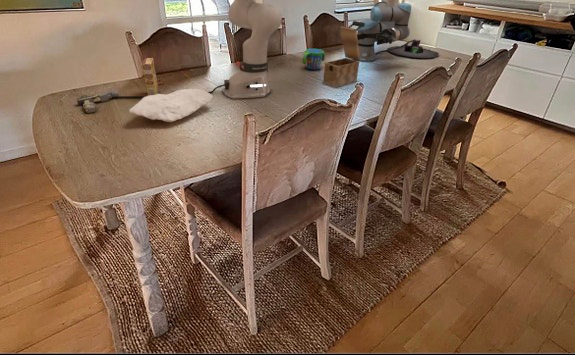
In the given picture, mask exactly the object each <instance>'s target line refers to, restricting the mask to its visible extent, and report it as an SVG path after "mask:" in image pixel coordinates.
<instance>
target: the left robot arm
mask: <svg viewBox="0 0 575 355" xmlns="http://www.w3.org/2000/svg"><path fill="white" fill-rule="evenodd" d="M227 12H228V13H227V15H228V20H229V22H230V23H231V24H232V25H234V26H236V27H239V28H241V29H246V30H251V35H250V37H249V38H247V39H246V40H245V41H244V42H243V43H242V59H243V60H242V61H236V62H235V65H236V66H237V67H239V69H237V71H236V72H235V73H234V74H232V75H231V76H230V77H229V78H228V79H223V84H220V85H218V86H216V87H214V88H213V89H212V90H211V91H207V92H208V93H210V94H212V93H214V92H215V91H216V90H217V89H219V88H222V87H224V88H223V91H222V92H223V94H224V95H225V96H226V97H228V98H230V99H233V100H236V99H237V100H238V99H239V100H240V99H253V98H254V99H255V98H264V97H266V95H268V94H269V93H270V92H271V88H270V84H269V78H268V76H269V75H268V72H269V61H268V47H269V41H270V39H271V37H272V35H273V34H274V33H275V32H277V31H278V30H279V28H280V27H281V25H282V20H283V18H282V17H283V16H282V12H281V10H280V9H279V8H278V7H276V6H274V5H271V4H269V3H262V2H257V1H256V0H233V2H232V3H231V4H230V5H229V8H228V11H227ZM146 96H147V95H141V96H140V95H139V96H138V95H130V96H129V95H128V96H127V95H126V96H125V95H123V96H121V95H119V96H117V97H112V98H111V99H142V98H144V97H146Z"/></svg>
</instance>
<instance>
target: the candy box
mask: <svg viewBox="0 0 575 355" xmlns="http://www.w3.org/2000/svg"><path fill="white" fill-rule="evenodd" d="M141 66H142V73H143V78H144V82H145V87H146V92H147V96H150V95H156V94H159V91H160V90H159V84H158V79H157V73H156V66H155V62H154V58H153V57H151V58H150V57H149V58H146V57H145V58H143V60H142V63H141Z"/></svg>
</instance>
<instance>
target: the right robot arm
mask: <svg viewBox="0 0 575 355" xmlns="http://www.w3.org/2000/svg"><path fill="white" fill-rule="evenodd" d="M372 1H373V7H372V8H371V9H370V14H369V15H370V16H369V17H370V18H366V19H362V20H360V21H359V22H363V23H365V26H364V27H361V28H360V29H358V30H357V39H358V47H359V54H360V60H359V62H373V61H375V60H376V55H378V54H380V53H385V52H386V53H387V52H389V51H388V50H387V49H383V50H379V51H377V52H375V51H376V50H375V44H376V45H377V46H380V45H384V44H386V45H387V44H389V45H392V44H393V43H394V42H398V41H403V40H405V39H407V38H408V37H409V36H410V34H411V30H410V27H409V21H410V17H411V12H412V5H411V4H410V3H407V2H405V3H404V2H401V3H399V2H400V0H372ZM358 27H359V26H357V28H358ZM413 40H414V39H412V40H409V41H406V43H404V44H402V45H400V47H397V48H394V49H398V48H401V47H405V45H409V44H411V43H412V42H413ZM389 50H393V49H389Z"/></svg>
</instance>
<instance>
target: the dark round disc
mask: <svg viewBox="0 0 575 355" xmlns="http://www.w3.org/2000/svg"><path fill="white" fill-rule="evenodd" d="M412 40H413V42H411V43H410V44H407V45H405V46H403V47H401V48H398V49H394V48H397V47H400V46H401V45H400V46H399V45H396V46H391V47H388V48H386V50H388V51H387V52H389V53H391V54H394V55H398V56H403V57H407V58H415V59H416V58H417V59H430V58H431V59H432V58H437V57H439V52H438V51H435V50H434V51H433V50H431V49H427V48H424V47H423V46H421V45H420V44H421V39H415V38H414V39H412ZM389 49H393V50H389Z"/></svg>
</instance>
